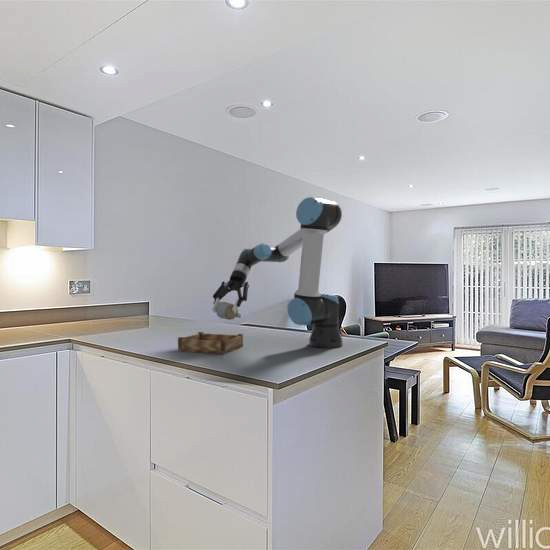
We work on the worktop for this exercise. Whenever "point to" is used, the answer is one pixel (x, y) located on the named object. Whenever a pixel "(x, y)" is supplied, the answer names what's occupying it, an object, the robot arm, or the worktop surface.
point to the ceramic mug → (226, 311)
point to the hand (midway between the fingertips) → (223, 311)
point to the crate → (210, 343)
